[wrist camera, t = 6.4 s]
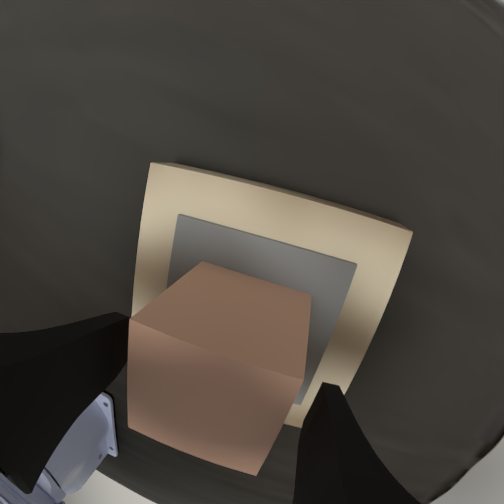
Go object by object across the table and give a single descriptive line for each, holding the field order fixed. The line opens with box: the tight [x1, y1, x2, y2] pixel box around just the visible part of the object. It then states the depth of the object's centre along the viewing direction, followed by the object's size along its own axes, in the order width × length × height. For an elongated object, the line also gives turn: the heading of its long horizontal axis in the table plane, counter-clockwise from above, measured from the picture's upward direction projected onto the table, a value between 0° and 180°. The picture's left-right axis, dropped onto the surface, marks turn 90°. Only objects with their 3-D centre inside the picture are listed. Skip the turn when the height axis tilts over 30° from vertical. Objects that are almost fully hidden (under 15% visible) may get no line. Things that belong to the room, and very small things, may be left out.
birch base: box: [132, 162, 413, 428], centre depth 15 cm, size 12×12×3 cm
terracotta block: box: [127, 261, 312, 476], centre depth 11 cm, size 5×5×6 cm
